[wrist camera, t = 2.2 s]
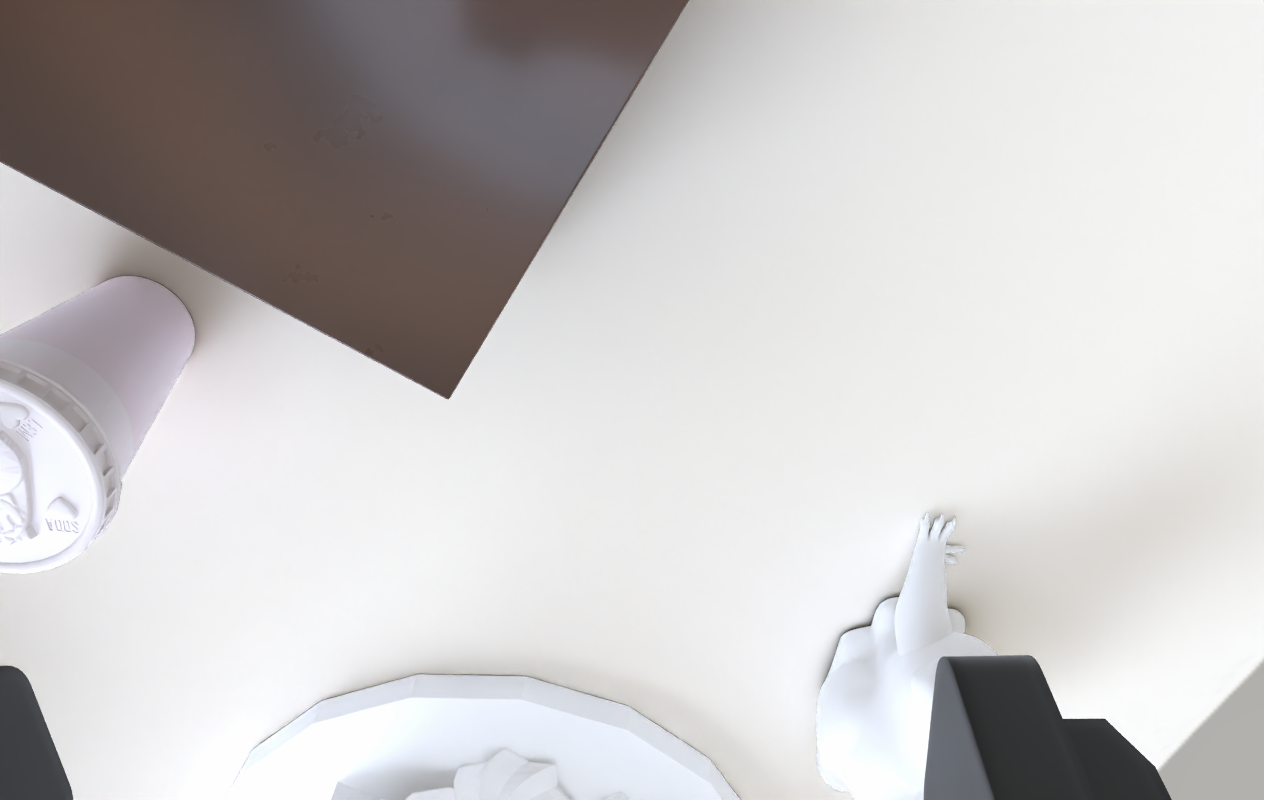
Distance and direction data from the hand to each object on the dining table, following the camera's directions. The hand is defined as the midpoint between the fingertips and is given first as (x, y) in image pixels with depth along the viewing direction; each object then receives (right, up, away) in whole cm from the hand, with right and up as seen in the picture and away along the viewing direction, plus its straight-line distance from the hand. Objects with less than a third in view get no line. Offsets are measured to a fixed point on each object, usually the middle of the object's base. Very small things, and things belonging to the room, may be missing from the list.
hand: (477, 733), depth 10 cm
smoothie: (-15, +6, +28) cm, 32 cm away
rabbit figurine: (+13, -7, +33) cm, 36 cm away
